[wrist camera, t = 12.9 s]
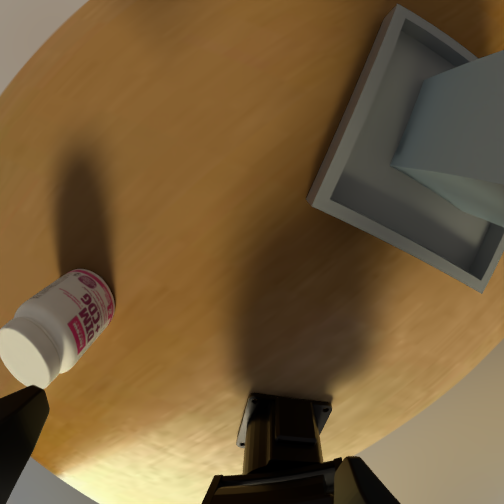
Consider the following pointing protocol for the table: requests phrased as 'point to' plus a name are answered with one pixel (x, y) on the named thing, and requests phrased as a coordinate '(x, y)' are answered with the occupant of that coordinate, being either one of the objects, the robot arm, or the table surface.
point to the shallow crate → (383, 150)
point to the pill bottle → (56, 327)
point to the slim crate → (460, 138)
